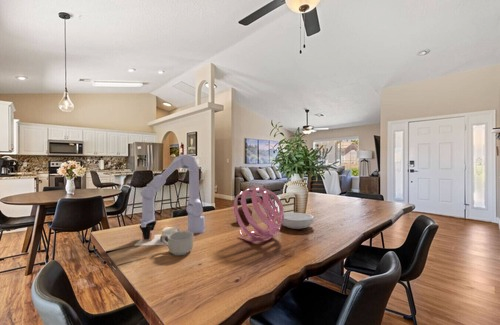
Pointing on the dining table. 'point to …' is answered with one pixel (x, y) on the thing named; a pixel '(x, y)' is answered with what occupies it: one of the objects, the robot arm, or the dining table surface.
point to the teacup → (179, 242)
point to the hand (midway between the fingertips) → (148, 237)
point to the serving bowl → (297, 220)
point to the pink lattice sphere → (260, 214)
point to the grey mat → (154, 242)
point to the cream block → (169, 230)
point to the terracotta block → (149, 237)
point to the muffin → (244, 215)
